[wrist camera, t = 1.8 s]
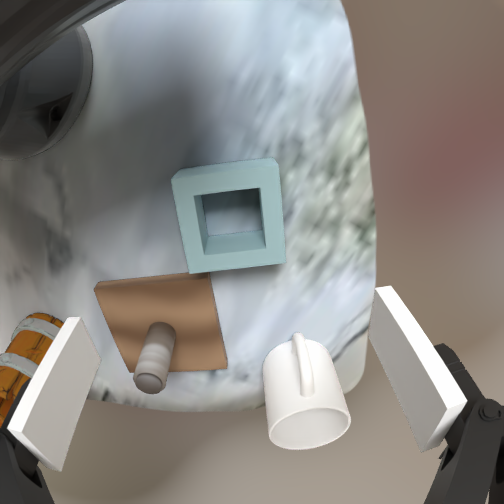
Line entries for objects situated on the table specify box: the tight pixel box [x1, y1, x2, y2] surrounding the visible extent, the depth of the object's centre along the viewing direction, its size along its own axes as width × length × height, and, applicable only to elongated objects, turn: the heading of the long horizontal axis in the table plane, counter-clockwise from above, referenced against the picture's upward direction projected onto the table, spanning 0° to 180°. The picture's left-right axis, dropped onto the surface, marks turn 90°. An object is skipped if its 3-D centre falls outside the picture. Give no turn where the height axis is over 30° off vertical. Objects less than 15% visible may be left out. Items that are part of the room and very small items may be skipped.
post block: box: [94, 272, 227, 394], centre depth 29 cm, size 12×12×9 cm
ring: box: [171, 157, 286, 274], centre depth 26 cm, size 8×8×4 cm
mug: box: [0, 313, 64, 428], centre depth 28 cm, size 11×16×15 cm, turn 125°
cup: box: [263, 332, 351, 450], centre depth 31 cm, size 8×12×10 cm
